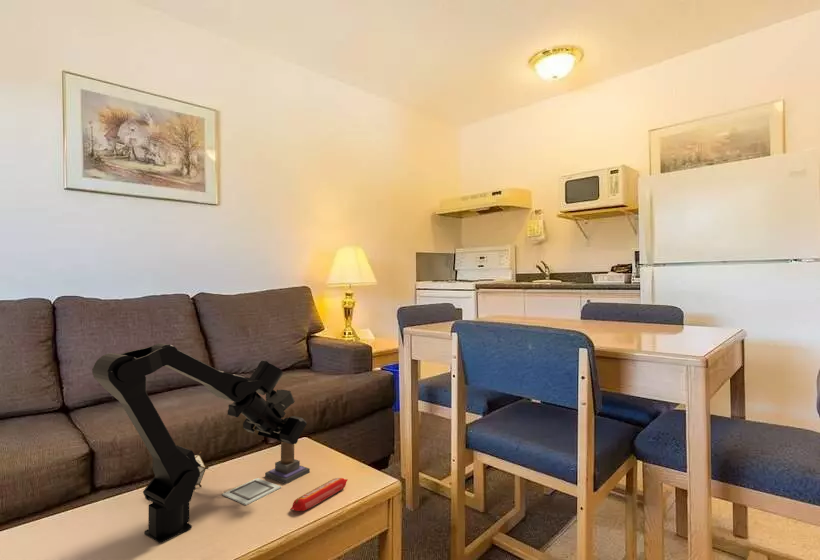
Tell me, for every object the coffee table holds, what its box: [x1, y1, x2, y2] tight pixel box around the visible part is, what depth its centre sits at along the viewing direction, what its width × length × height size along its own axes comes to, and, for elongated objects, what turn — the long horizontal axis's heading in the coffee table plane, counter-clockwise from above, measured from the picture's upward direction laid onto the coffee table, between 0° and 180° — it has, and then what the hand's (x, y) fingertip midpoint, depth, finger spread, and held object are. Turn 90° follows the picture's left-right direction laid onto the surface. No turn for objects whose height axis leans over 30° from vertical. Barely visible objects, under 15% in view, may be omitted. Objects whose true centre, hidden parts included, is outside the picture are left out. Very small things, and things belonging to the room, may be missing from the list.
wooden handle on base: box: [274, 423, 301, 474], centre depth 113 cm, size 4×4×13 cm
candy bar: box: [290, 477, 348, 512], centre depth 100 cm, size 16×4×3 cm, turn 146°
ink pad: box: [264, 465, 311, 485], centre depth 113 cm, size 8×8×1 cm
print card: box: [222, 477, 282, 506], centre depth 104 cm, size 10×9×1 cm
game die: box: [194, 451, 210, 488], centre depth 106 cm, size 9×8×10 cm
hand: (291, 440), depth 114 cm, fingers closed on wooden handle on base, 3 cm apart
